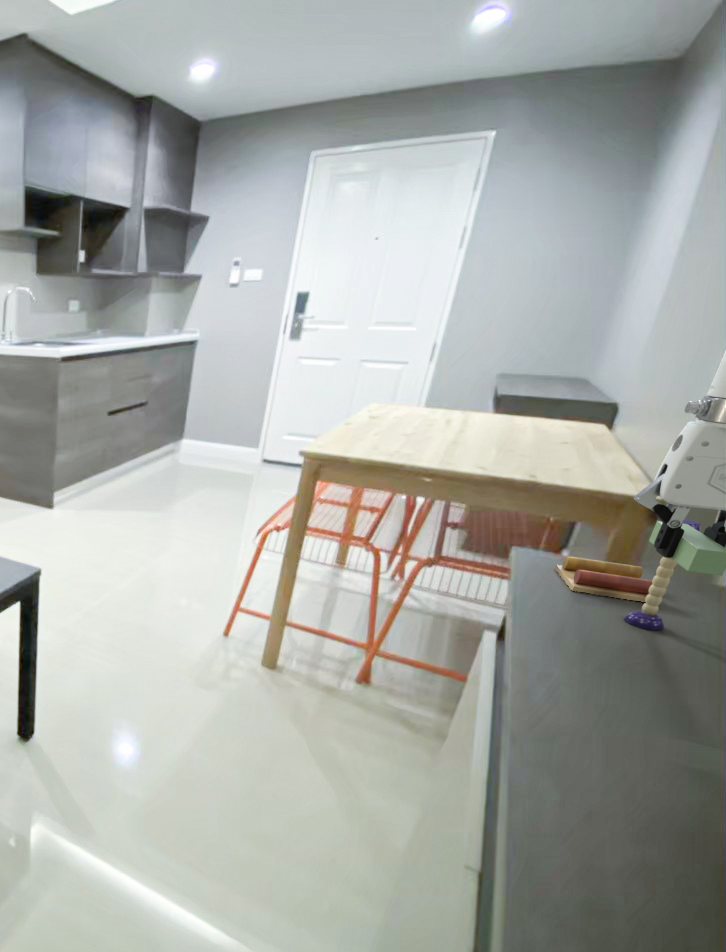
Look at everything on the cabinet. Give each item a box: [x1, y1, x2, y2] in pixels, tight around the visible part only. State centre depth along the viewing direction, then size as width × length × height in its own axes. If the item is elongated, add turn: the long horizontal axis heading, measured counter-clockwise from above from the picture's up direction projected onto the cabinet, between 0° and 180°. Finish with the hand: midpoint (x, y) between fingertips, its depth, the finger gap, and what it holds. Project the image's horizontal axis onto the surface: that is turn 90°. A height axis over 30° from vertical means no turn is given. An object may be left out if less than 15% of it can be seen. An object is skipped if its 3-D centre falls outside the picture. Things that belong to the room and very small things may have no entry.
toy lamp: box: [624, 518, 701, 631], centre depth 91 cm, size 5×5×17 cm
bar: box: [648, 520, 726, 577], centre depth 78 cm, size 12×3×3 cm, turn 151°
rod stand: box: [554, 555, 653, 603], centre depth 106 cm, size 11×11×3 cm
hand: (683, 555), depth 79 cm, fingers closed on bar, 3 cm apart
